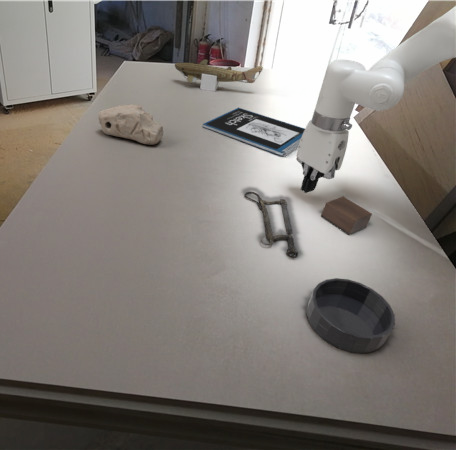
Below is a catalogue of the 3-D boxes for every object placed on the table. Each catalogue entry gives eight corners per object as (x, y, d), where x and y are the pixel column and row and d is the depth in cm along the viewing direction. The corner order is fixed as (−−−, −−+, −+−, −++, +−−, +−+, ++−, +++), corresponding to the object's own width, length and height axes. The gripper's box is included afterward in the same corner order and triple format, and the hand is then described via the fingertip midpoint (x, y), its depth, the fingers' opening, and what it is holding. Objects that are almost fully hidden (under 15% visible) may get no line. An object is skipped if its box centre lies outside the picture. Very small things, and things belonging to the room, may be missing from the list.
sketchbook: (237, 111, 147) (238, 105, 145) (315, 137, 131) (317, 131, 130) (202, 127, 133) (203, 121, 132) (284, 158, 118) (286, 152, 117)
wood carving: (255, 99, 157) (261, 69, 150) (170, 85, 165) (172, 57, 159) (259, 92, 163) (264, 63, 157) (176, 79, 172) (178, 51, 165)
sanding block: (337, 209, 98) (343, 196, 95) (366, 227, 92) (372, 213, 90) (320, 216, 95) (325, 202, 93) (348, 235, 90) (354, 221, 87)
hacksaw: (298, 260, 82) (299, 254, 82) (247, 254, 83) (248, 248, 83) (285, 196, 102) (286, 191, 101) (243, 192, 102) (245, 187, 102)
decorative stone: (95, 135, 125) (94, 104, 119) (107, 126, 131) (106, 96, 125) (155, 149, 119) (156, 117, 113) (165, 139, 125) (167, 108, 119)
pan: (339, 284, 77) (346, 269, 75) (401, 333, 69) (411, 318, 66) (290, 309, 72) (296, 294, 69) (351, 366, 63) (360, 350, 61)
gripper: (369, 130, 86) (341, 201, 97) (315, 106, 96) (295, 173, 107) (346, 136, 83) (320, 209, 94) (293, 111, 93) (275, 179, 104)
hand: (307, 190), depth 100 cm, fingers closed
